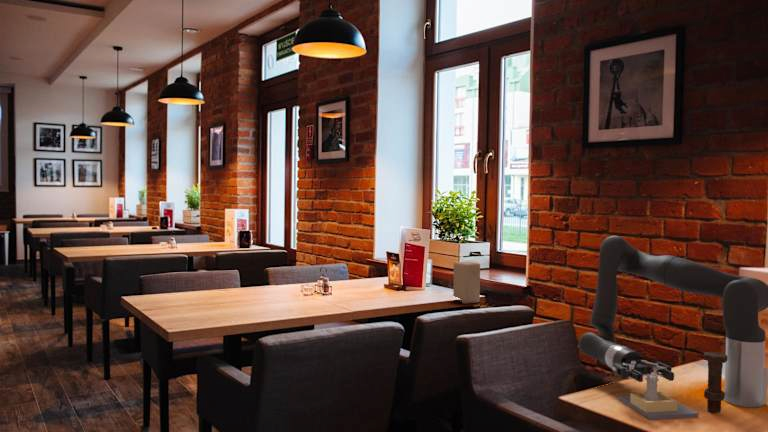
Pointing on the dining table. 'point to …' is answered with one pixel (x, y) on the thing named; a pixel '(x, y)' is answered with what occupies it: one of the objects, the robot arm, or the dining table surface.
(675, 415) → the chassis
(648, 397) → the rook chess piece
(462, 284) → the block
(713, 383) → the bolt
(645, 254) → the robot arm
